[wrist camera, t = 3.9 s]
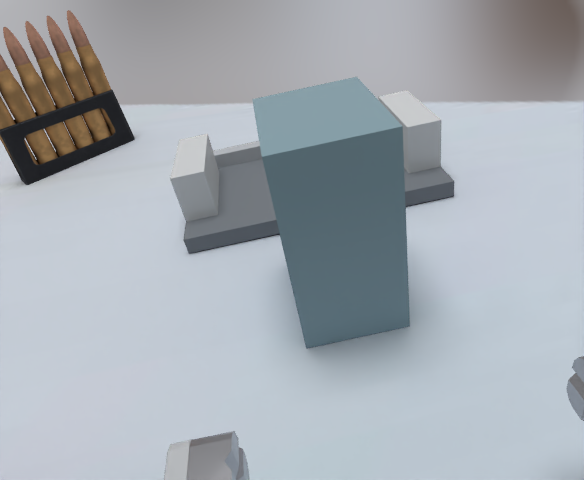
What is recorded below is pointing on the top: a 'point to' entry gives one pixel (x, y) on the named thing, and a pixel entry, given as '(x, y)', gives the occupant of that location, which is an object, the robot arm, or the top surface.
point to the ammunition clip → (57, 105)
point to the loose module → (338, 207)
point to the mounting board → (254, 186)
